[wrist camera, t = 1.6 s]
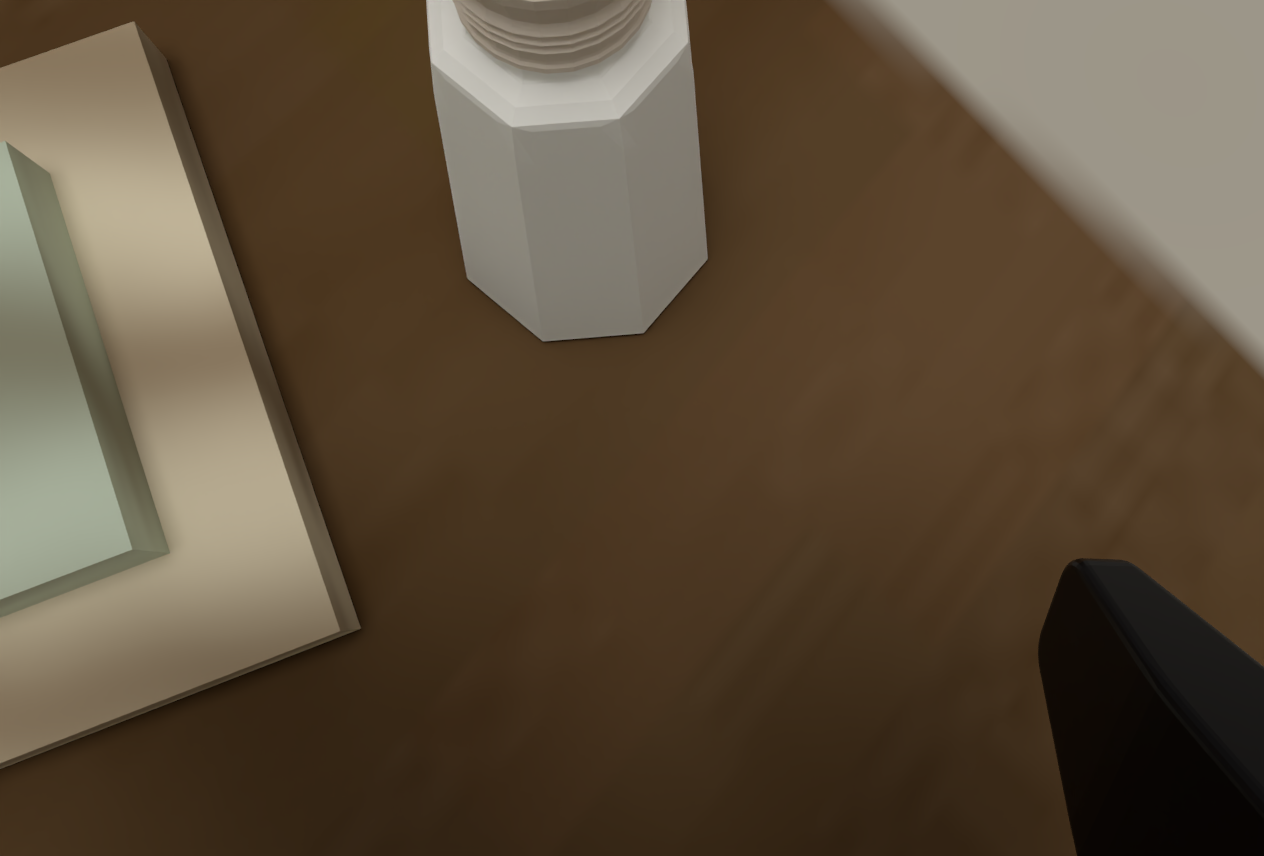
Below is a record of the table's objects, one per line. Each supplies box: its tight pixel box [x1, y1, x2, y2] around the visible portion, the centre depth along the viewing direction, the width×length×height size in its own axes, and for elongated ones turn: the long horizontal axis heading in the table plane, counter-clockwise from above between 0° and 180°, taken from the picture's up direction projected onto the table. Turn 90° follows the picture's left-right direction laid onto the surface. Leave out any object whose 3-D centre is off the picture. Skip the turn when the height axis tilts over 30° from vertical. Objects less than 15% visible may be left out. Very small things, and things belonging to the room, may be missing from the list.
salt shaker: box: [426, 0, 708, 341], centre depth 17 cm, size 5×5×11 cm
